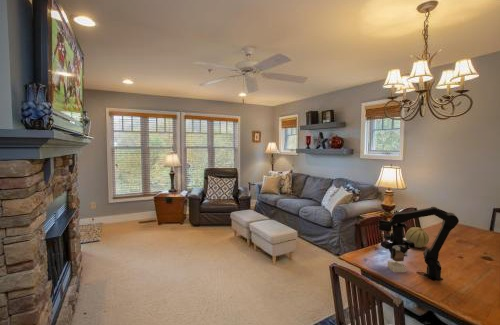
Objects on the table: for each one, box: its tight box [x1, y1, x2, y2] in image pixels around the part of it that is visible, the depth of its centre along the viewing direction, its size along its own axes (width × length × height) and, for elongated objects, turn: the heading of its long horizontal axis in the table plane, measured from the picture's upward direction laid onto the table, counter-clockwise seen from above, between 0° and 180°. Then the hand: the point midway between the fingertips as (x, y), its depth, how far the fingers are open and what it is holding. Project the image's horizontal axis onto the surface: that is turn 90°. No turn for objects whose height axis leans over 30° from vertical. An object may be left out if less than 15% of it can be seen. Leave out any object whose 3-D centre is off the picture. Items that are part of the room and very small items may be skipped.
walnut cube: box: [390, 250, 405, 262], centre depth 155 cm, size 5×5×5 cm
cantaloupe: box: [405, 226, 430, 249], centre depth 188 cm, size 15×15×15 cm
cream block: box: [387, 260, 407, 273], centre depth 155 cm, size 7×7×4 cm
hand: (397, 257), depth 155 cm, fingers closed on walnut cube, 5 cm apart
